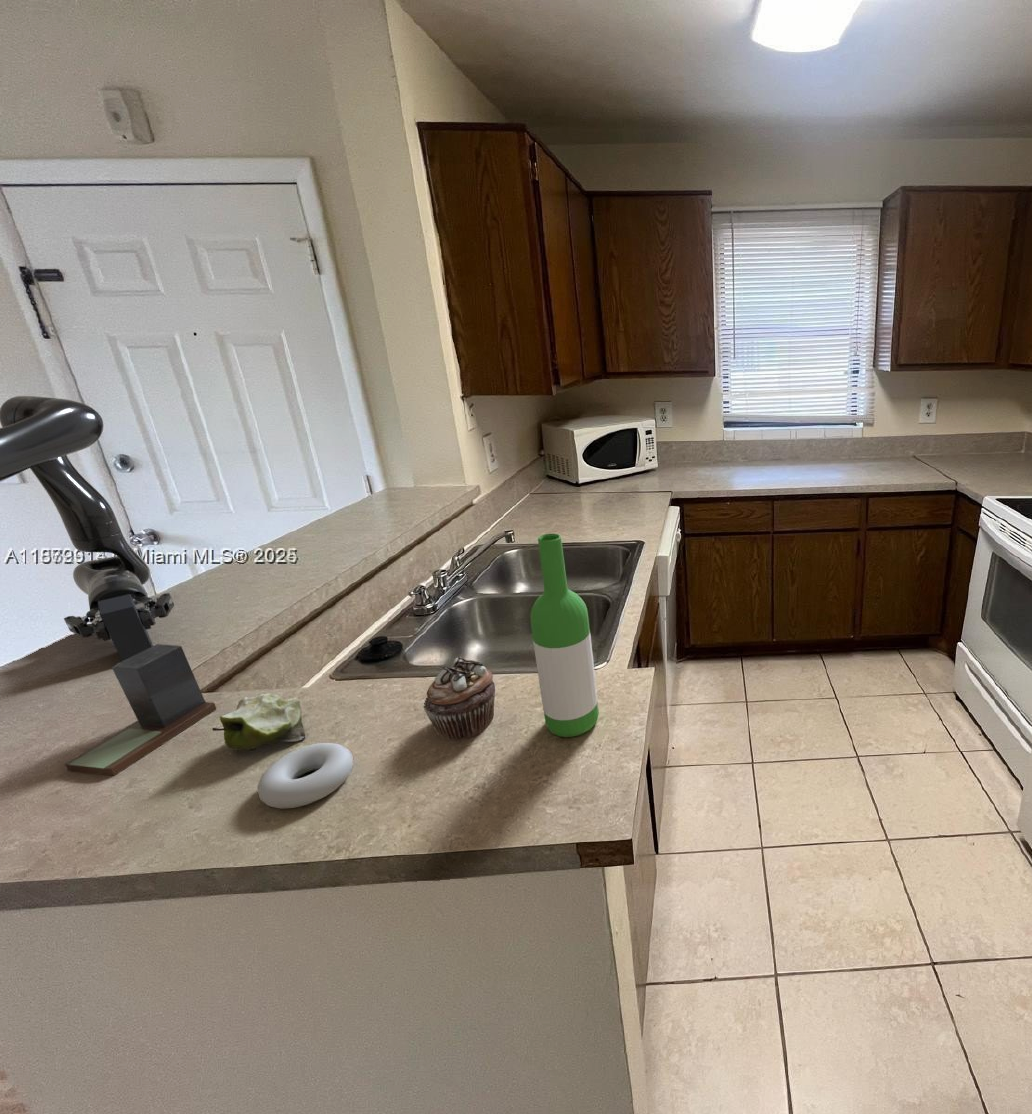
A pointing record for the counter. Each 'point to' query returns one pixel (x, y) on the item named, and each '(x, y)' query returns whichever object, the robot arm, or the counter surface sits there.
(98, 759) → the grey block on board
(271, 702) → the fruit
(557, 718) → the wine bottle
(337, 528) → the counter surface
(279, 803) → the donut
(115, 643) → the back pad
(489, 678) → the cupcake
